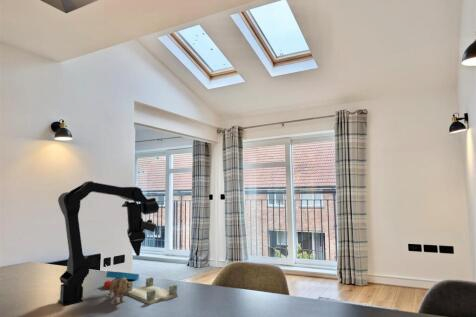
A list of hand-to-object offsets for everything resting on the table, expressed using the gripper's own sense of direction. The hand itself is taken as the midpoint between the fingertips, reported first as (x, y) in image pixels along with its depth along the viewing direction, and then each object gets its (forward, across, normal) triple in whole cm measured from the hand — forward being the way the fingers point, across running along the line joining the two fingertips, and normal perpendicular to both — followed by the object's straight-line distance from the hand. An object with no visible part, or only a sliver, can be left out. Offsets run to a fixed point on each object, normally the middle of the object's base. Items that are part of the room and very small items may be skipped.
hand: (137, 253), depth 135 cm
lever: (+14, +9, +8) cm, 18 cm away
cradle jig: (+14, -13, -3) cm, 19 cm away
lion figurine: (+13, -16, +9) cm, 22 cm away
